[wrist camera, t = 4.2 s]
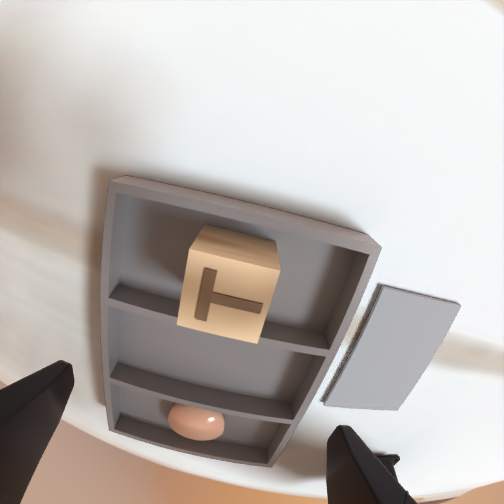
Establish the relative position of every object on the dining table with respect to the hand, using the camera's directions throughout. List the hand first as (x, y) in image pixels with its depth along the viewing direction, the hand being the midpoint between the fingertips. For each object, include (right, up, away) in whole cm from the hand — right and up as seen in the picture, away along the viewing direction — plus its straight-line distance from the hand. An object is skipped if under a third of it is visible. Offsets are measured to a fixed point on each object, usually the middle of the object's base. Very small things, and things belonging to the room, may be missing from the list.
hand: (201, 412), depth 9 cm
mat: (+13, -4, +14) cm, 20 cm away
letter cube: (0, +4, +11) cm, 12 cm away
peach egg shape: (-3, -10, +16) cm, 19 cm away
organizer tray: (-1, -3, +14) cm, 15 cm away
